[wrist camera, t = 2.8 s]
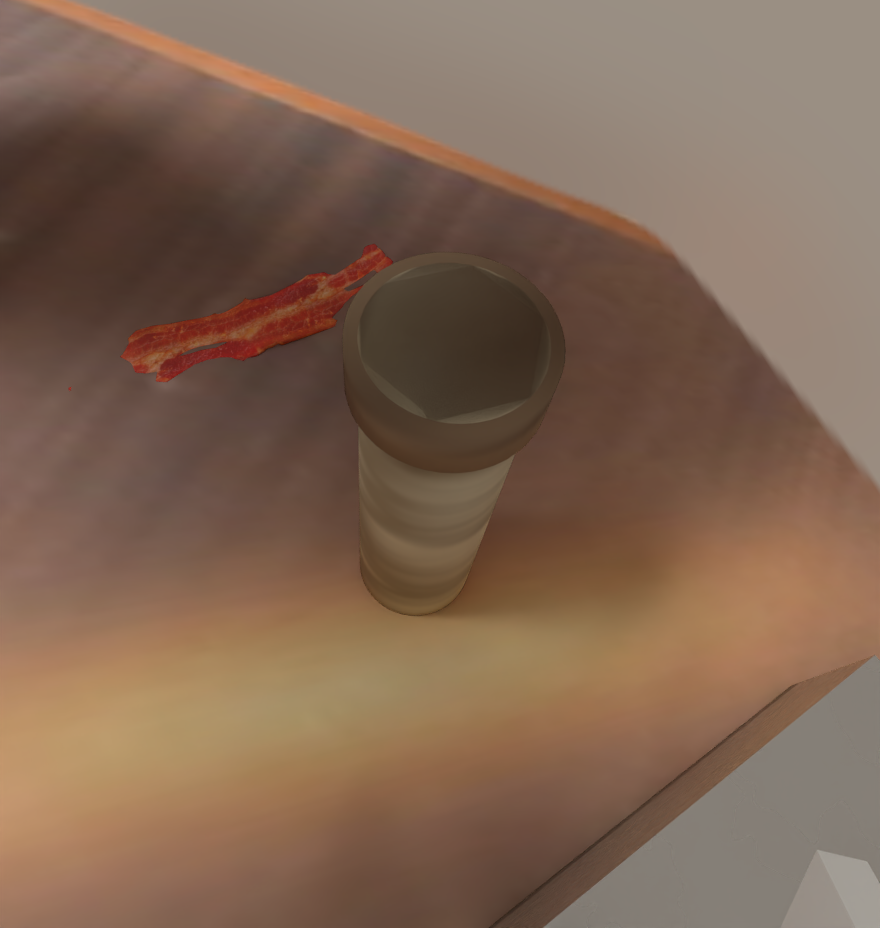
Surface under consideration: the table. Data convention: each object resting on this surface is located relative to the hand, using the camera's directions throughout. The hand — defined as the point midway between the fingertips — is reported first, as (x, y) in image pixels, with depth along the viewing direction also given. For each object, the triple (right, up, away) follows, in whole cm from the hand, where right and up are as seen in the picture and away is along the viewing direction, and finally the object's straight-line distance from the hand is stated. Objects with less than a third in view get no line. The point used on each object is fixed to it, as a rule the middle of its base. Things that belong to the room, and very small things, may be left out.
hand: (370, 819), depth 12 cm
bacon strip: (-7, +11, +21) cm, 25 cm away
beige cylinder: (0, +2, +17) cm, 17 cm away
